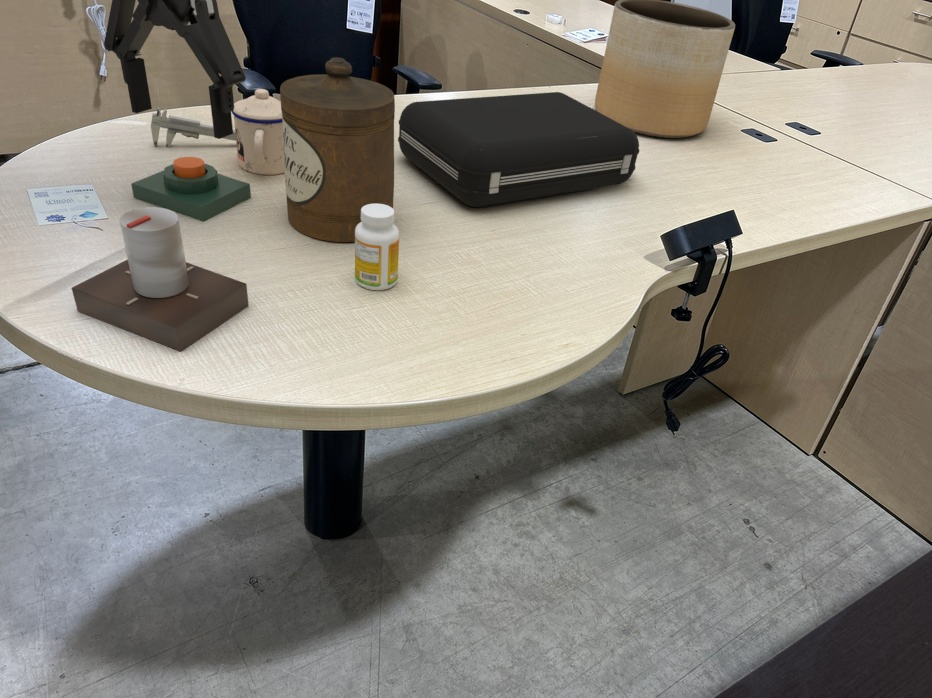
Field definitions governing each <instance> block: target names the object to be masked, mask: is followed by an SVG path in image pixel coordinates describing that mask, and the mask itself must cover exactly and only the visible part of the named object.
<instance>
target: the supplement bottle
mask: <svg viewBox="0 0 932 698" xmlns="http://www.w3.org/2000/svg"><path fill="white" fill-rule="evenodd" d="M399 252H400V231H399V228H398V226H396V224H395V209H394V207H393V208H391V207H390V206H388V205H384V204H368V205H365V206H363V207H362V208H361V222H360V223H359V224H358V225H357V226H356V228H355V242H354V279H355V282H356V283H357V285H359V286H360V287H362V288H364V289H367V290H372V291H385V290H388V289H391V288H393V287H394V286H396V284H397V282H398V277H399V254H400V253H399Z"/></svg>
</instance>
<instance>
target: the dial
mask: <svg viewBox="0 0 932 698" xmlns="http://www.w3.org/2000/svg"><path fill="white" fill-rule="evenodd" d="M119 225H120V229H121V235H122V240H123V244H124V249H125V253H126V260H127V259H128V264H129V268H130V273H131V278H132V283H133V287H134V290H135V291H136V292H137V293H138V294H140V295H142V296H145V297H150V298H166V297H171V296H175V295H177V294H180V293H182V292H183V291H184V290H186V289H187V287H188V285H189V280H188V274H187V268H186V262H187V261H186V255H185V250H184V249H185V248H184V243H183V242H184V241H183V237H182V236H183V235H182V230H181V223H180V218H179V215H178V213H177V212H174V211H171V210H168V209H165V208H162V207H159V206H147V207H138V208H134V209H132V210H128V211H127V212H124V213H123V214H122V215H121V216H120V218H119Z"/></svg>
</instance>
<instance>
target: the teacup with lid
mask: <svg viewBox="0 0 932 698" xmlns="http://www.w3.org/2000/svg"><path fill="white" fill-rule="evenodd" d="M231 115H233V122H234V130H235V133H236V153H237V160H238V161H237V163H238V165H239V167H240V168H241V169H243V170H244V171H246V172H248V173H251V174H256V175H263V176H275V175H281V174H285V169H284V143H283V122H282V110H281V100H279V99H277V98H275V97H273V96H271V95H270V93H269V91H268V90H267V89H264V88H257V89H256V90H254V95H251V96H249V97H247V98H243V99H239V100H237V101H236V102H234V110H233V111H232V112H231Z"/></svg>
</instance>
